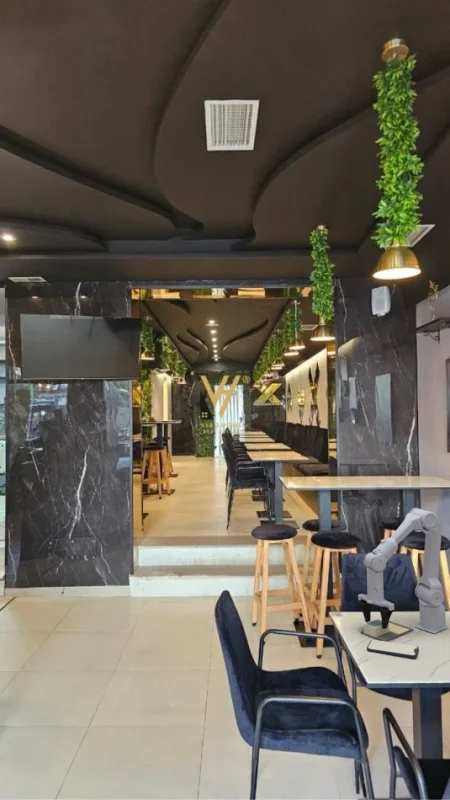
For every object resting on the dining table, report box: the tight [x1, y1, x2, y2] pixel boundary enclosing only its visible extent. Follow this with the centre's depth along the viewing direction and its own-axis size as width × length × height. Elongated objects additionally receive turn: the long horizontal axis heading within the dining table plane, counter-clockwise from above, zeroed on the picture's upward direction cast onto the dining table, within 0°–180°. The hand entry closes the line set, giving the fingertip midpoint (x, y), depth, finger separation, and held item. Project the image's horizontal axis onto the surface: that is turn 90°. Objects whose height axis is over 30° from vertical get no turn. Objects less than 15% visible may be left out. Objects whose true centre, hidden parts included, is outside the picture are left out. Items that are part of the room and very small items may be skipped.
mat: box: [360, 620, 414, 642], centre depth 191 cm, size 17×10×1 cm, turn 126°
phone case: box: [366, 639, 420, 660], centre depth 176 cm, size 9×2×16 cm
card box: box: [363, 618, 389, 637], centre depth 189 cm, size 8×5×3 cm, turn 126°
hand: (376, 624), depth 190 cm, fingers open, 7 cm apart
